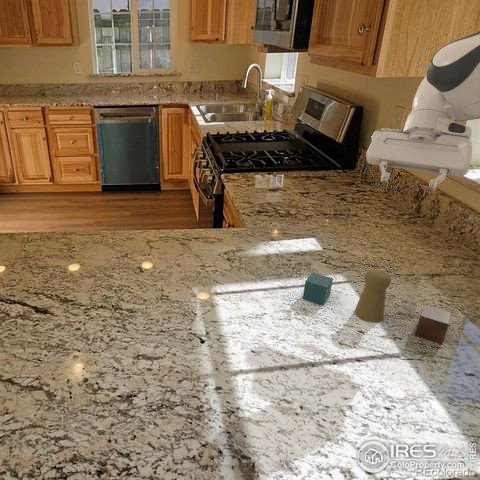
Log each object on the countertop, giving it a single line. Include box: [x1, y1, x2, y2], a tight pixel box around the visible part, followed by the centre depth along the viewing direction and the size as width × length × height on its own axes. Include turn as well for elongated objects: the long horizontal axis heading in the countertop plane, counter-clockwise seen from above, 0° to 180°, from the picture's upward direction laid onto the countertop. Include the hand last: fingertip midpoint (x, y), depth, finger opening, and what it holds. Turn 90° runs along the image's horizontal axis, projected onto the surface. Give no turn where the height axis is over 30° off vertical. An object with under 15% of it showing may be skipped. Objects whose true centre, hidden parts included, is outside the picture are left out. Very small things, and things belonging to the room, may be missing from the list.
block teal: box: [302, 272, 334, 306], centre depth 102 cm, size 5×5×5 cm
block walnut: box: [414, 304, 452, 345], centre depth 89 cm, size 5×5×5 cm
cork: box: [354, 268, 392, 323], centre depth 94 cm, size 6×6×11 cm
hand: (407, 184), depth 94 cm, fingers open, 8 cm apart
